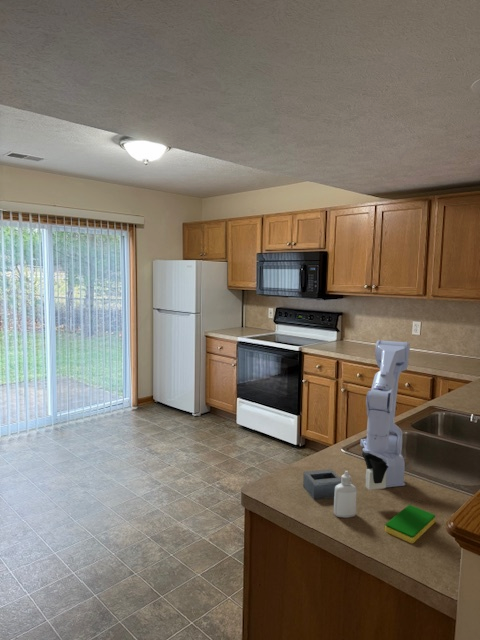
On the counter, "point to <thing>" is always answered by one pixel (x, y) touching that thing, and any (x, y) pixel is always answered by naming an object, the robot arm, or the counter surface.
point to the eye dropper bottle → (345, 497)
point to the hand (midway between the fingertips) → (375, 480)
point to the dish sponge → (410, 523)
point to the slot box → (321, 483)
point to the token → (370, 481)
